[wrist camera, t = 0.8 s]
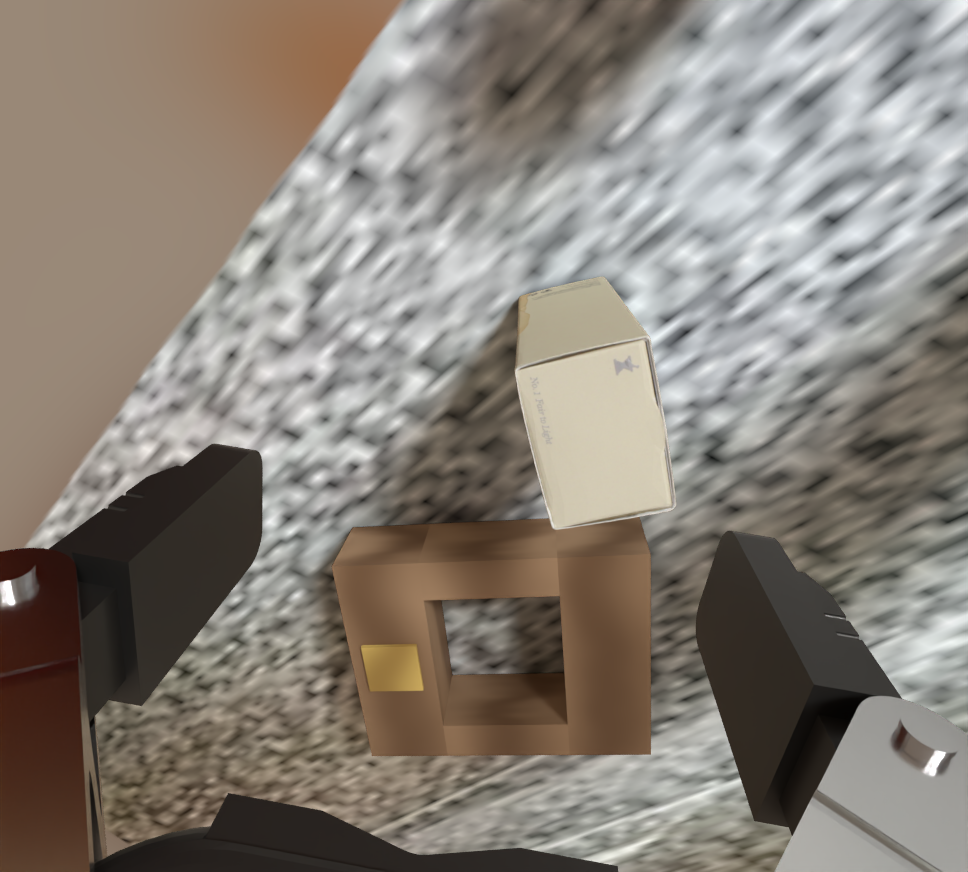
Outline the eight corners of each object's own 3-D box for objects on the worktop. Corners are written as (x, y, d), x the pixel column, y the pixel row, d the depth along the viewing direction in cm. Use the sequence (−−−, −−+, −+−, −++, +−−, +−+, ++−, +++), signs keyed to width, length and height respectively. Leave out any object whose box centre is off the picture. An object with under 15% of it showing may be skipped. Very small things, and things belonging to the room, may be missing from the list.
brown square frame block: (638, 514, 34) (651, 556, 31) (640, 700, 39) (651, 757, 35) (352, 527, 36) (330, 568, 32) (387, 703, 41) (371, 758, 37)
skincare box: (517, 294, 31) (504, 359, 19) (608, 273, 30) (651, 327, 19) (543, 414, 33) (546, 535, 22) (630, 397, 32) (679, 512, 21)
